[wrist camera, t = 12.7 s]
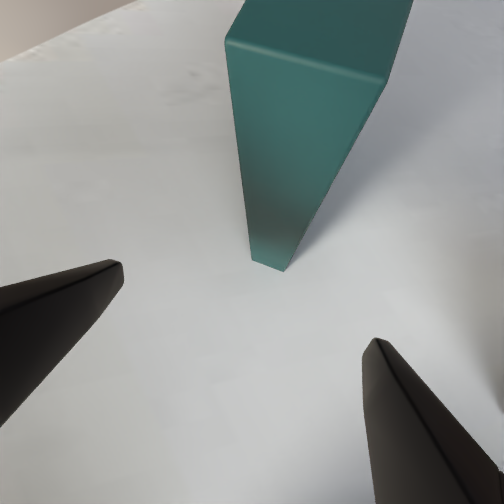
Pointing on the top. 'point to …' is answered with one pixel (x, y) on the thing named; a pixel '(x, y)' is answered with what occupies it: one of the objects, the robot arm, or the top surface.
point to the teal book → (303, 104)
